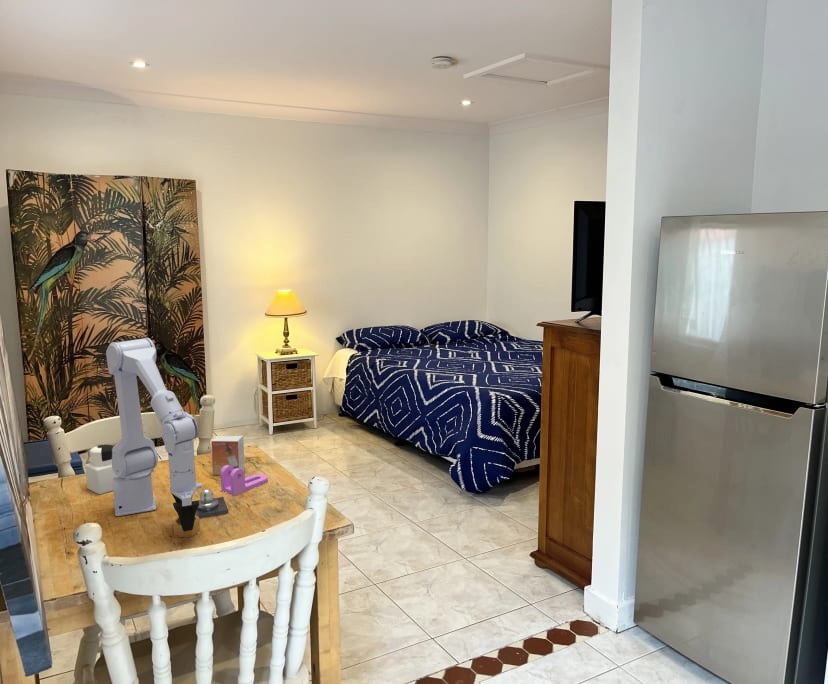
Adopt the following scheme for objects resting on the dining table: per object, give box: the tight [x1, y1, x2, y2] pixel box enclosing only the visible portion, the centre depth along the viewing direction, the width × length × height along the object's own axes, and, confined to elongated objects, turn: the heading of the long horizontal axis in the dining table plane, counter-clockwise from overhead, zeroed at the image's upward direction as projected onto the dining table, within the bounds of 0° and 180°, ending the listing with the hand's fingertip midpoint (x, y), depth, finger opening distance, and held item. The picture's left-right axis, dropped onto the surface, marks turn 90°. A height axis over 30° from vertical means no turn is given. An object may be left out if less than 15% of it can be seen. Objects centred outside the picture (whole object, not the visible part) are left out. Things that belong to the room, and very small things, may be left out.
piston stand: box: [195, 488, 229, 519], centre depth 171 cm, size 9×9×6 cm
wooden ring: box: [172, 515, 201, 539], centre depth 159 cm, size 6×6×3 cm
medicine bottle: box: [84, 444, 118, 495], centre depth 185 cm, size 7×7×12 cm
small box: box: [211, 435, 246, 476], centre depth 197 cm, size 8×6×10 cm
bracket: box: [219, 465, 269, 497], centre depth 186 cm, size 13×6×7 cm, turn 143°
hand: (186, 523), depth 159 cm, fingers open, 7 cm apart
